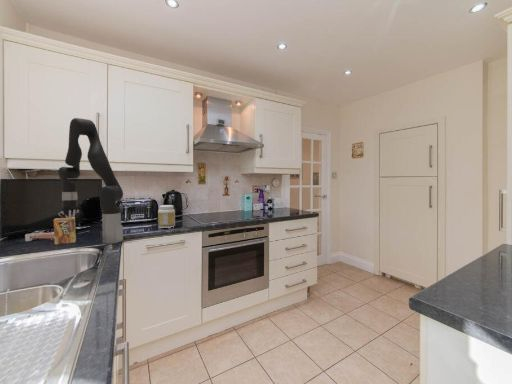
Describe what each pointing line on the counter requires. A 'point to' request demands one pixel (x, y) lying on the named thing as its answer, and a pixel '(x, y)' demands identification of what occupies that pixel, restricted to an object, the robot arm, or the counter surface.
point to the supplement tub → (166, 216)
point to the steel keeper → (29, 236)
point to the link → (44, 235)
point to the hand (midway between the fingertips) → (70, 226)
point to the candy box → (64, 230)
